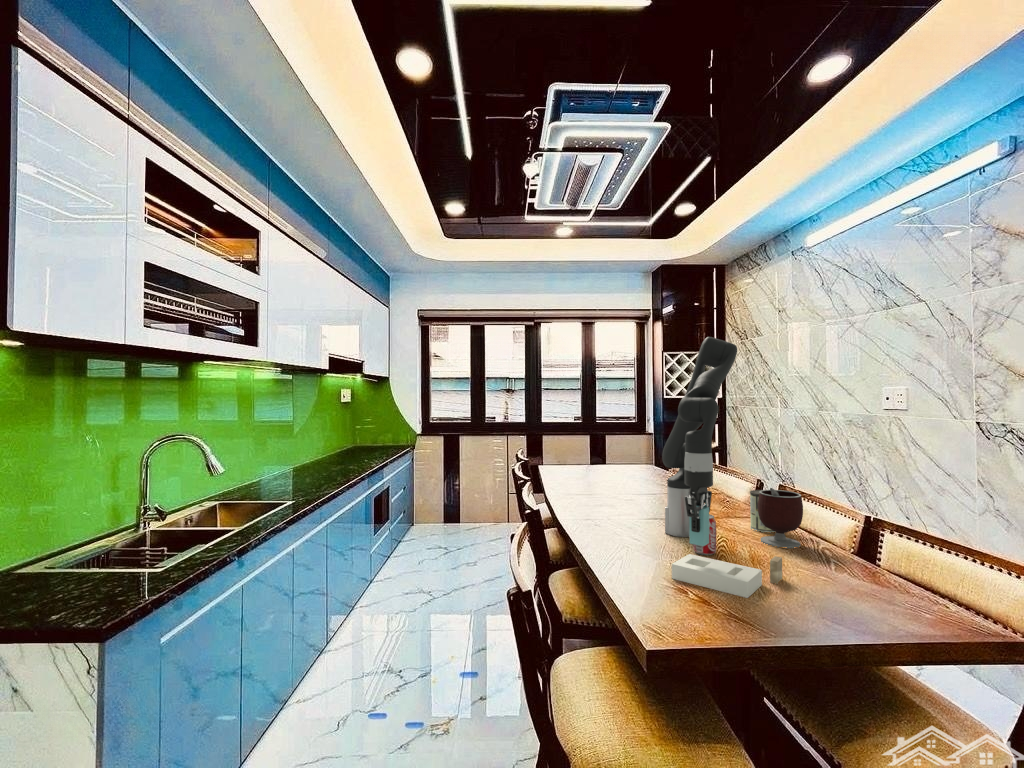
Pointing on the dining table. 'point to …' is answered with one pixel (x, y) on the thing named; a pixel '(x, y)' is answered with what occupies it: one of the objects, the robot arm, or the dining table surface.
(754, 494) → the coffee can
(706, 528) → the square peg
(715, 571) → the socket block
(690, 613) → the dining table surface
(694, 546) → the soda can
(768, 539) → the mate gourd
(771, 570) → the block
